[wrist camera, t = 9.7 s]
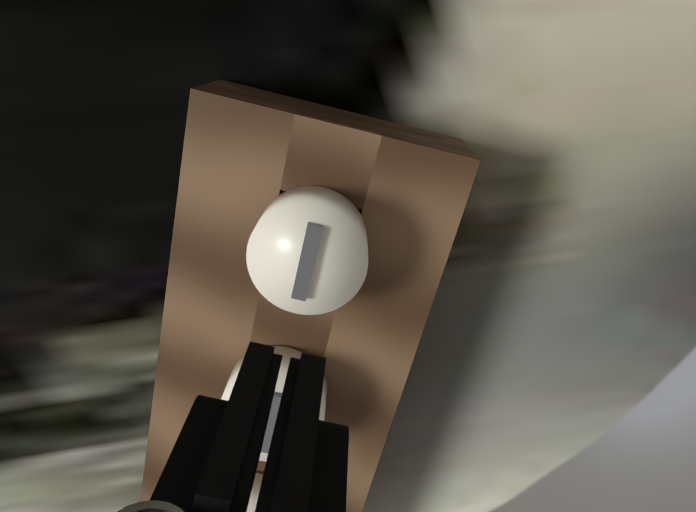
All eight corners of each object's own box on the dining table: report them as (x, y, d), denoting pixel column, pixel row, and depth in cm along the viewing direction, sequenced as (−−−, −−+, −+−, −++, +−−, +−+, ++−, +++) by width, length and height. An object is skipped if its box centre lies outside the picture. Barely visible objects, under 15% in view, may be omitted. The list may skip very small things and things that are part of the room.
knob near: (281, 154, 26) (255, 191, 19) (377, 177, 26) (382, 221, 20) (263, 244, 27) (235, 304, 21) (353, 264, 28) (352, 329, 22)
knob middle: (253, 297, 29) (223, 369, 22) (339, 317, 29) (334, 392, 23) (239, 370, 30) (208, 455, 24) (320, 387, 31) (311, 475, 24)
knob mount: (221, 79, 25) (190, 88, 21) (459, 139, 26) (481, 160, 22) (164, 479, 35) (134, 545, 31) (340, 513, 36) (337, 583, 31)
